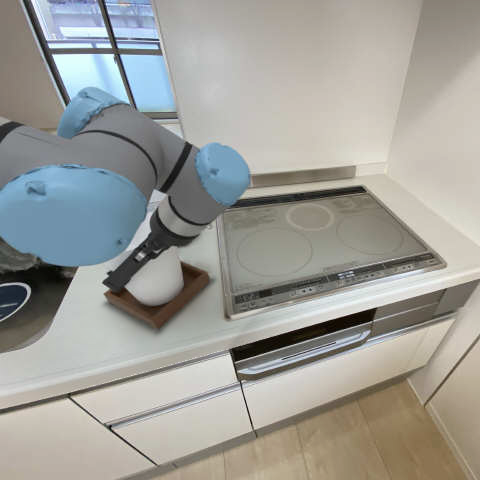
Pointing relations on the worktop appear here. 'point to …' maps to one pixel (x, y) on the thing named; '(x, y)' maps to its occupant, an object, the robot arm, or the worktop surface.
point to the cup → (152, 271)
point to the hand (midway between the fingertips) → (140, 263)
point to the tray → (162, 313)
